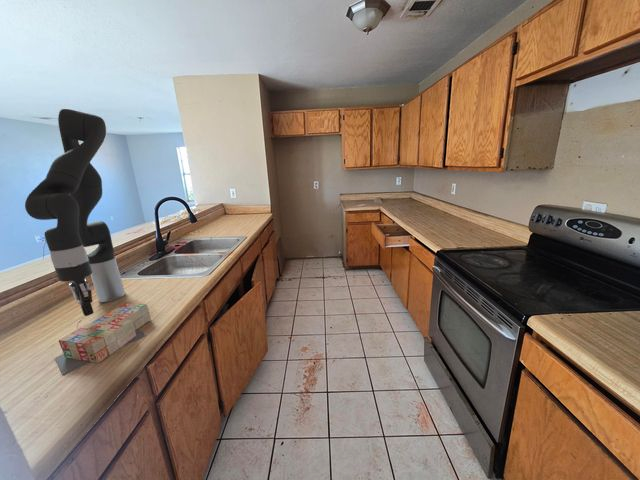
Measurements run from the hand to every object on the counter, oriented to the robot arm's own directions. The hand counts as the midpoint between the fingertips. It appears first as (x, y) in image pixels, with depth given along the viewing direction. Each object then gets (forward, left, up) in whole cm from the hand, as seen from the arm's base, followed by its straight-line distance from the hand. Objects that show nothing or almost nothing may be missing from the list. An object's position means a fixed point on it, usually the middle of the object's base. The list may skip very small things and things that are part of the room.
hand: (88, 314), depth 81 cm
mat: (+5, 0, -10) cm, 11 cm away
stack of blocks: (-1, +1, -6) cm, 6 cm away
